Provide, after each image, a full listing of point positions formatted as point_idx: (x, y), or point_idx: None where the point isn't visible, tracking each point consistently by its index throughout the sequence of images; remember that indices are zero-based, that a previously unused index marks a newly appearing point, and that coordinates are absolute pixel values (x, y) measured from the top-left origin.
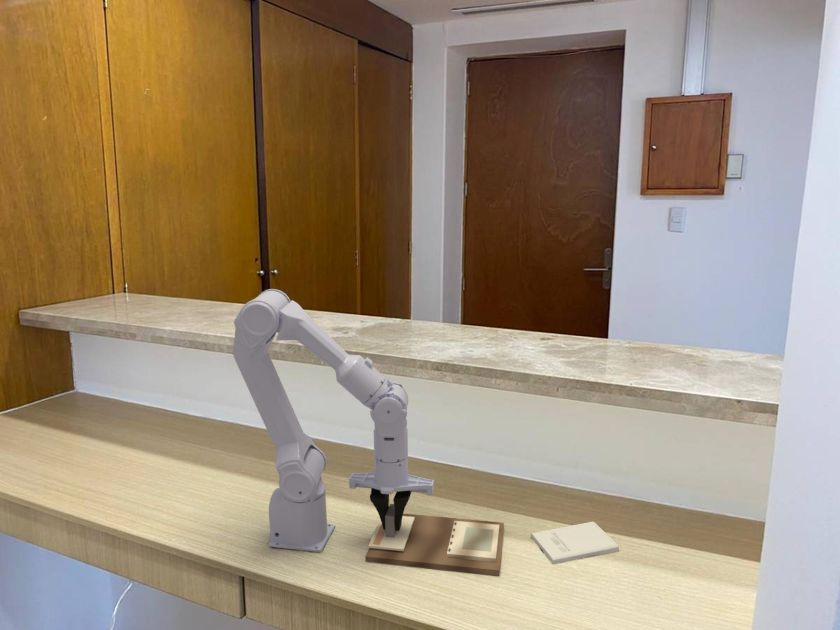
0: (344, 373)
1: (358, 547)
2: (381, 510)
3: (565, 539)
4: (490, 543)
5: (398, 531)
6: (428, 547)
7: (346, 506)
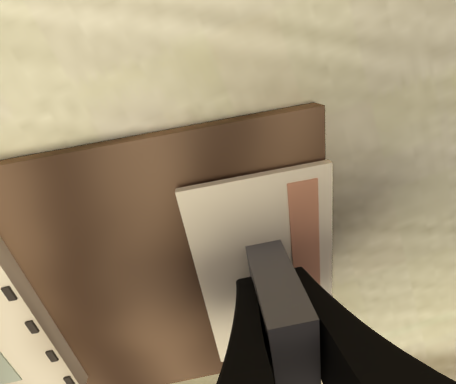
0: None
1: (362, 177)
2: (357, 346)
3: None
4: None
5: None
6: (100, 249)
7: (438, 333)
